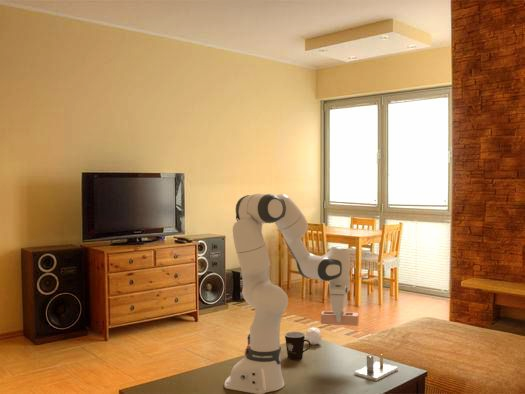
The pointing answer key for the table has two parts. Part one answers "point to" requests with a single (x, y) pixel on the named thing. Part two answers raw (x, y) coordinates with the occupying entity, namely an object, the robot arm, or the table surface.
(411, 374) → the table surface
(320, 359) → the table surface
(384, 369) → the post plate
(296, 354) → the coffee mug
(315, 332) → the geometric ball
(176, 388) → the table surface
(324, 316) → the link
